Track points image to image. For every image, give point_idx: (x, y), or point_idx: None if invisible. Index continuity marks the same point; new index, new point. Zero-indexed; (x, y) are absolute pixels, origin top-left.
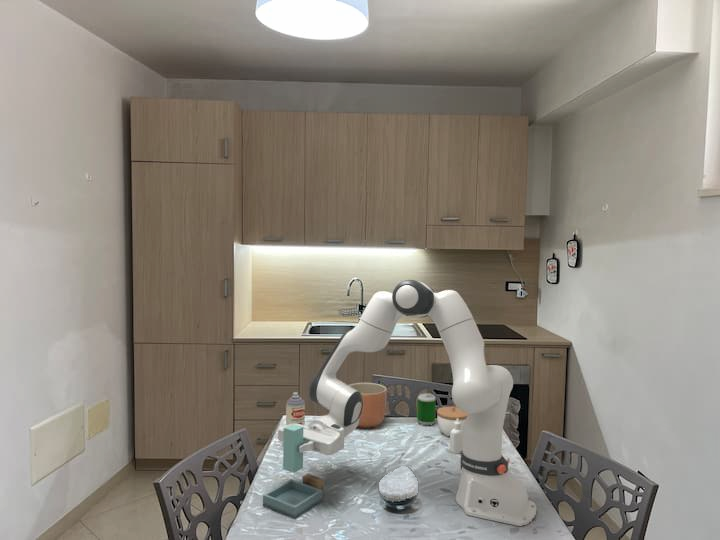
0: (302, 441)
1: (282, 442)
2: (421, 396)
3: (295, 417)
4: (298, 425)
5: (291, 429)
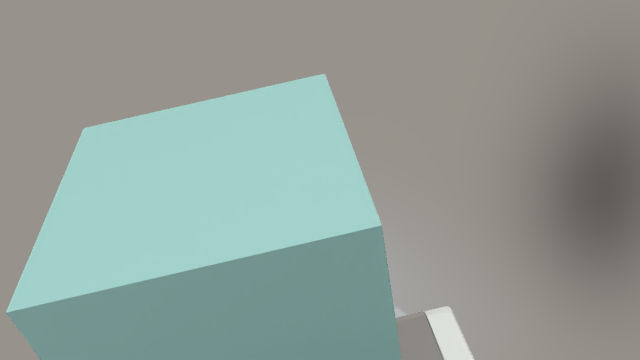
0: None
1: (442, 308)
2: None
3: None
4: (176, 266)
5: (163, 119)
